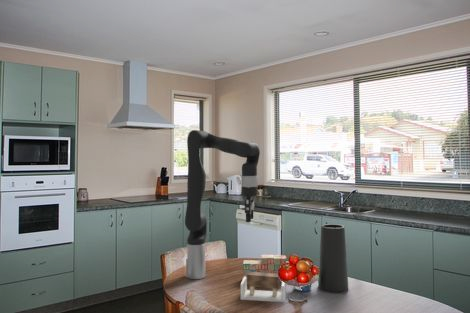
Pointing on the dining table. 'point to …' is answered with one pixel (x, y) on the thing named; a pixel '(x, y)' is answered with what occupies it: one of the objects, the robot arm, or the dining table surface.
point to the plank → (263, 280)
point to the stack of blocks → (264, 264)
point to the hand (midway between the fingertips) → (249, 220)
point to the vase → (333, 259)
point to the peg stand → (262, 293)
